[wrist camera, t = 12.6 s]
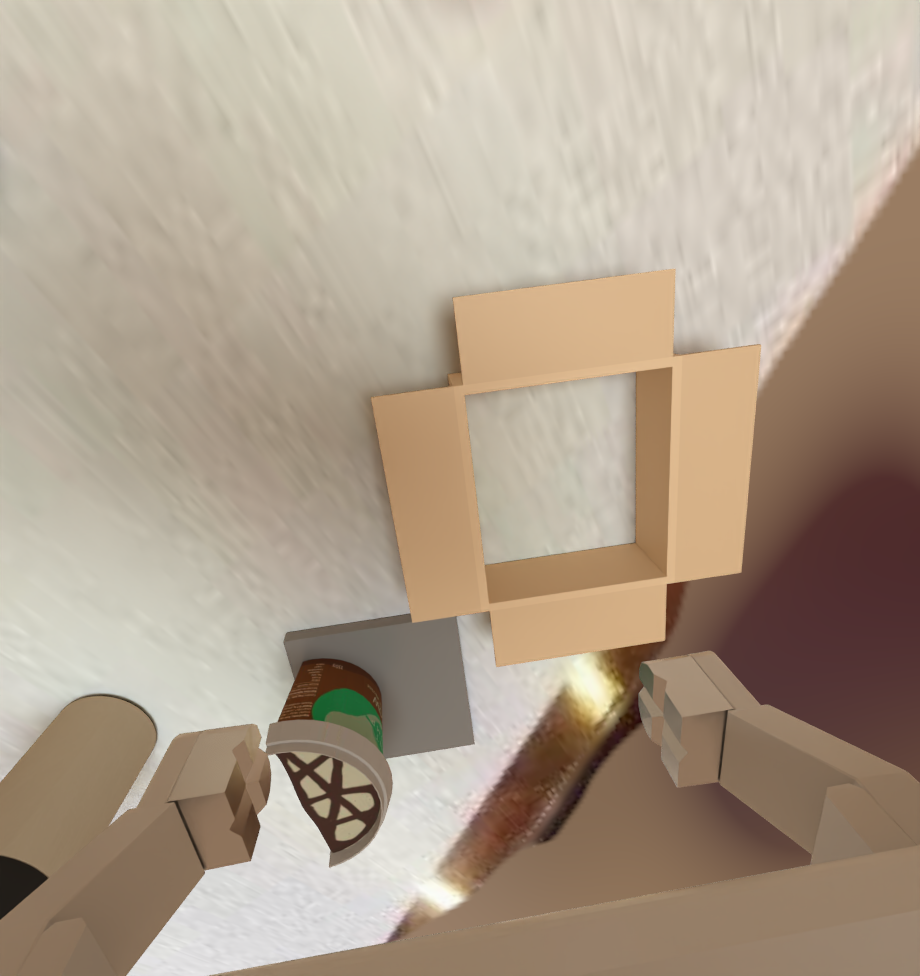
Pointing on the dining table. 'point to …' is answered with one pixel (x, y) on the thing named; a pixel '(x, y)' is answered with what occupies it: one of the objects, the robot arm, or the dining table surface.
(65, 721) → the travel mug
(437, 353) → the dining table surface
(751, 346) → the carton
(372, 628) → the slate board
